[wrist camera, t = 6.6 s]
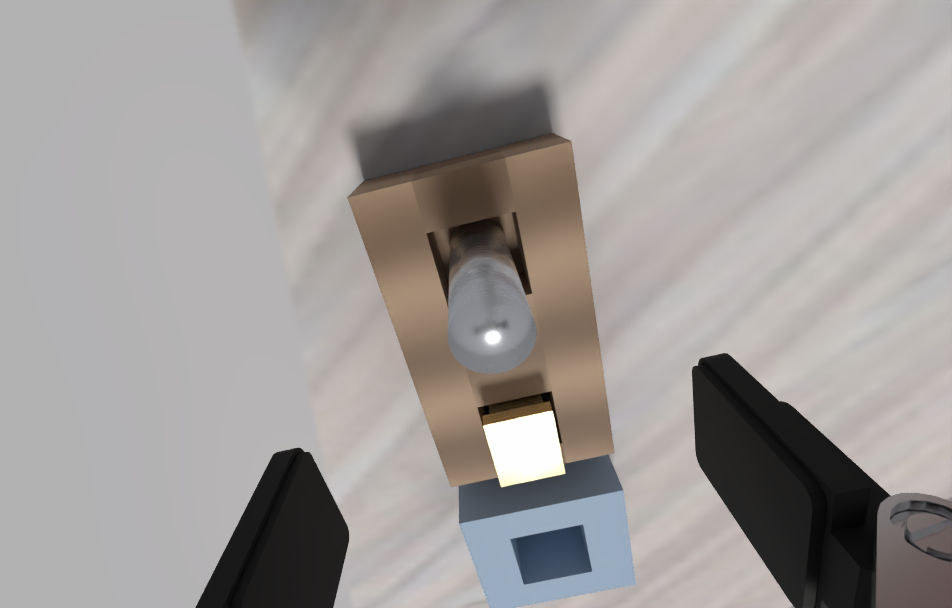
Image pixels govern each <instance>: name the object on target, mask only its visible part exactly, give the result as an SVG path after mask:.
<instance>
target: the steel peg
mask: <svg viewBox="0 0 952 608" xmlns="http://www.w3.org/2000/svg"><path fill="white" fill-rule="evenodd" d="M536 337H537V330H536V325H535V321H534V318H533V315H532V313H531V310H530V307H529V304H528V301H527V298H526V295H525V292H524V290H523V287H522V284H521V281H520V278H519V275H518V272H517V270H516V267H515V264H514V261H513V258H512V255H511V252H510V250H509V247H508V244H507V241H506V238H505V235H504V233H503V231H502V229H501V228H500V227H499V226H498V225H497V224H496V223H494V222H493V221H491V220H489V219H483V220H479V221H475V222H471V223H467V224H463V225H459V226H458V227H457V228H456V229H455V230H454V232H453V234H452V236H451V240H450V264H449V303H448V343H449V347H450V350H451V352H452V354H453V356H454V357H455V358H456V359H457V360H458V361H459V362H460V363H461V364H462V365H463V366H465V367H466V368H468V369H470V370H473V371H475V372H479V373H484V374H497V373H502V372H506V371H509V370H511V369H513V368H515V367H517V366H518V365H520V364H521V363H522V362H523V361H525V360H526V358H527V357H528V356H529V355H530V353H531V352H532V350H533V348H534V345H535V342H536Z"/></svg>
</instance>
